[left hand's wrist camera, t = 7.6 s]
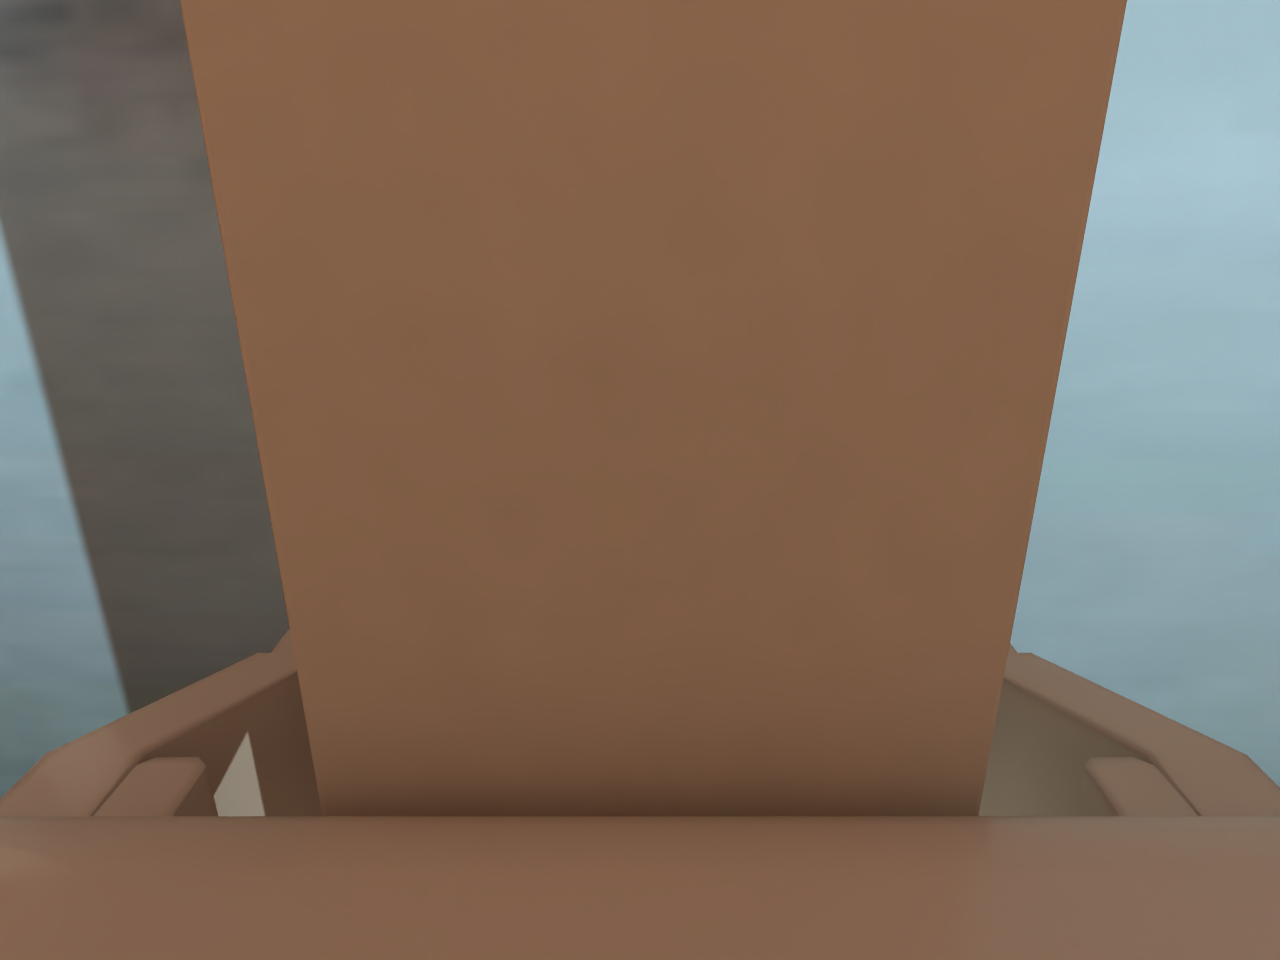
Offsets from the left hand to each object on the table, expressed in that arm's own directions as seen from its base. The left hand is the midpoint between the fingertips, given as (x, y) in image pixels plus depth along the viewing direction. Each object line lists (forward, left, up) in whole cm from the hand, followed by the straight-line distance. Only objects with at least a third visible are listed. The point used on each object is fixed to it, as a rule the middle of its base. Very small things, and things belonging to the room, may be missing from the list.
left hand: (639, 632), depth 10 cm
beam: (+25, 0, -3) cm, 26 cm away
